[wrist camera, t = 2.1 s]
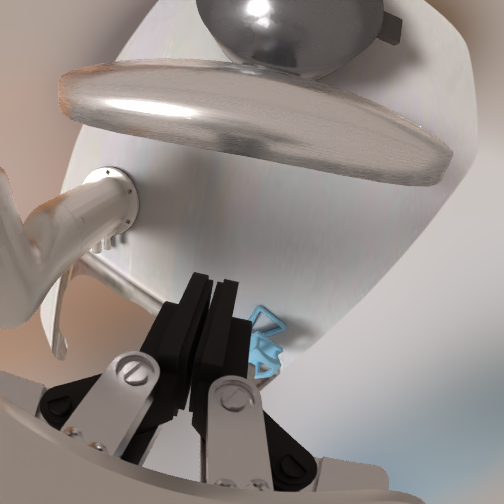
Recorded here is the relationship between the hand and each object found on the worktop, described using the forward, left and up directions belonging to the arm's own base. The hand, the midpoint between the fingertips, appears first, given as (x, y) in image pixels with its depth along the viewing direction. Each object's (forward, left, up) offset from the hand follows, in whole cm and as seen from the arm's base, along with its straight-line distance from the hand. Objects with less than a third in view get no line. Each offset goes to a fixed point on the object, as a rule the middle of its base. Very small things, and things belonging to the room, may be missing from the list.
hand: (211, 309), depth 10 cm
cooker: (+25, 0, -35) cm, 43 cm away
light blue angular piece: (-30, -8, -35) cm, 47 cm away
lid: (+10, 0, -10) cm, 15 cm away
